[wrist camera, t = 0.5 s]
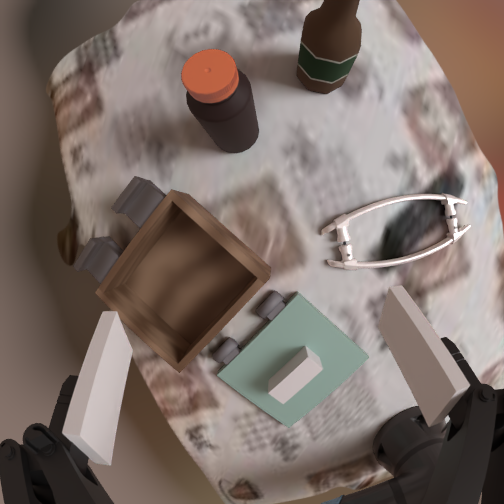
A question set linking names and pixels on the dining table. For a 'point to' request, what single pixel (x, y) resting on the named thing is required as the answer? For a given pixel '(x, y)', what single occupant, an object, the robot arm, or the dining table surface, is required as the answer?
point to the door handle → (352, 264)
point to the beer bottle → (329, 45)
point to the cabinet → (173, 272)
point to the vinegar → (221, 99)
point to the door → (290, 359)
